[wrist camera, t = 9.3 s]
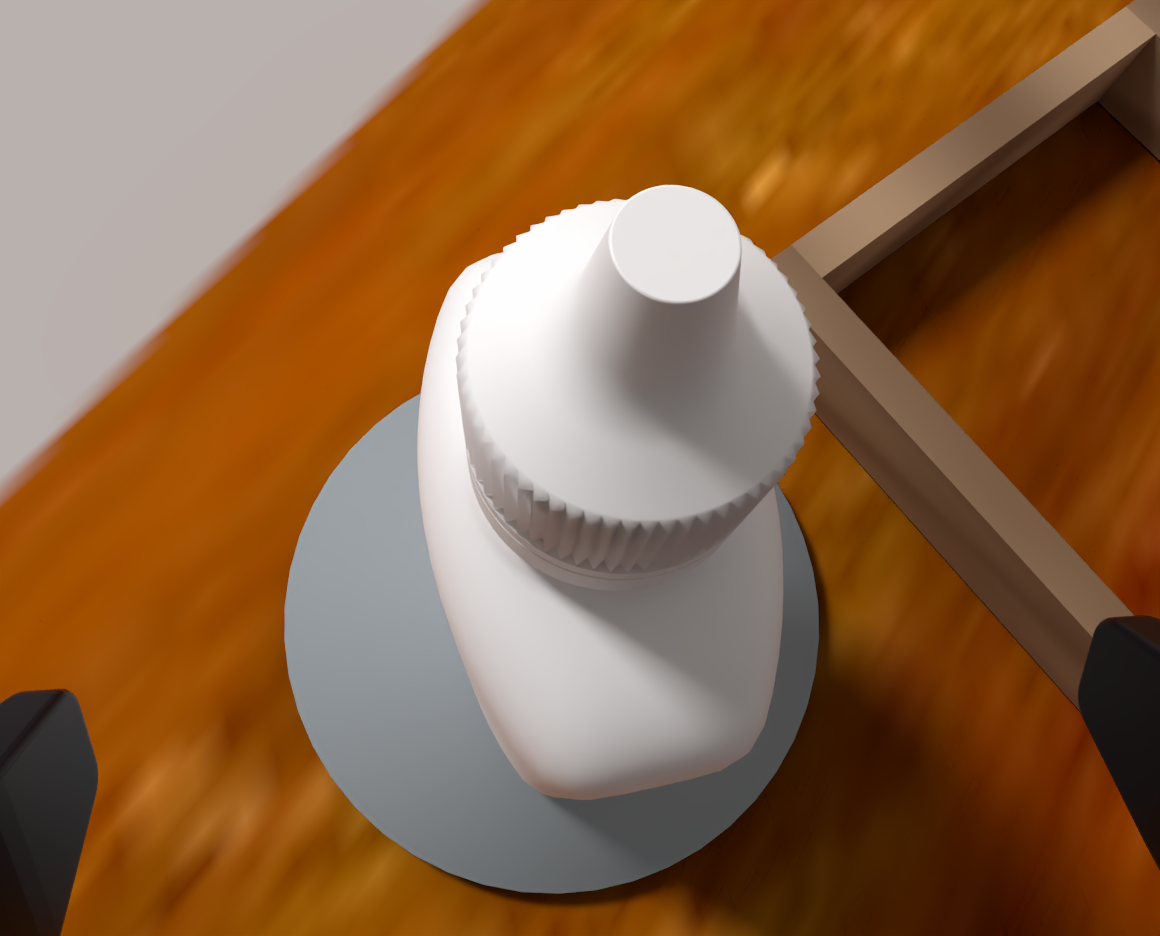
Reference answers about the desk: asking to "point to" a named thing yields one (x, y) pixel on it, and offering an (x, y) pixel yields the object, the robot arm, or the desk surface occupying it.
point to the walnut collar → (898, 401)
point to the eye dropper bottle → (616, 488)
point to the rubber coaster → (452, 712)
